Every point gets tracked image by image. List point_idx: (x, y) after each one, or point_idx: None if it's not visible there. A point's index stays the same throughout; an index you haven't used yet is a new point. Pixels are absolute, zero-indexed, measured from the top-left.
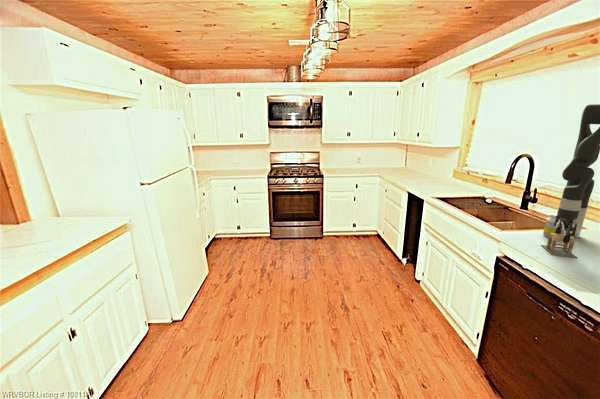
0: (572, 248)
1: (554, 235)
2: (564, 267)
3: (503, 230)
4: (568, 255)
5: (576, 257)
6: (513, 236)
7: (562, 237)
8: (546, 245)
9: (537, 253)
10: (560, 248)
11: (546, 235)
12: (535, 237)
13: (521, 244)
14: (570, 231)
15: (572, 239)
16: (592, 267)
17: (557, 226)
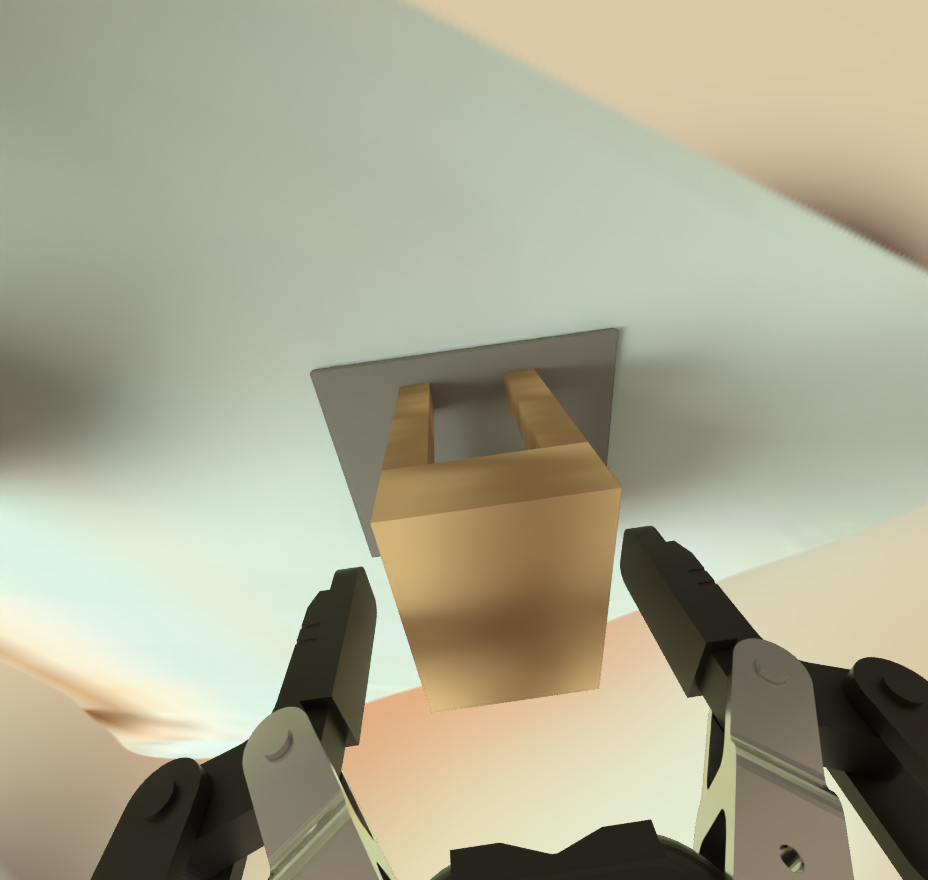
0: (553, 397)
1: (540, 688)
2: (844, 492)
3: (129, 713)
4: (586, 405)
5: (615, 339)
6: (251, 675)
7: (602, 629)
8: (363, 524)
9: None
10: (382, 425)
11: None
12: (111, 556)
13: None
14: (792, 771)
15: (609, 508)
16: (855, 259)
17: (382, 854)
